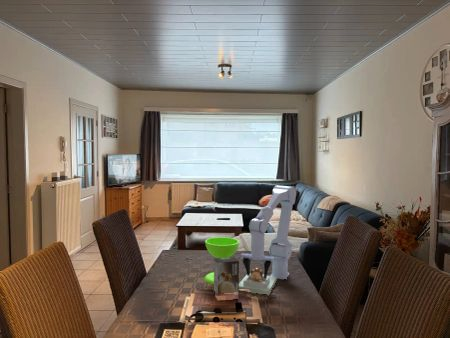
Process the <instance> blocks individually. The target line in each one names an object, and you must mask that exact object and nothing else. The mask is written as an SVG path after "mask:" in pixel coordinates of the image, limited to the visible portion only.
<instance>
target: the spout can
mask: <svg viewBox="0 0 450 338" xmlns="http://www.w3.org/2000/svg"><path fill="white" fill-rule="evenodd" d="M250 273H251V281H255V282H262V278H263V274H264V271H263V269H260V267H254V268H252V269H250Z"/></svg>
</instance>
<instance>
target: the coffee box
mask: <svg viewBox="0 0 450 338" xmlns="http://www.w3.org/2000/svg"><path fill="white" fill-rule="evenodd" d="M213 272H214V284H213V292H214V291H215V292H216V293H217V294H221V293H234V292H239V293H240V291H239V283H240V261H239V260H238V259H237V257H235V256H230V257H225V258H216V257H214V259H213Z"/></svg>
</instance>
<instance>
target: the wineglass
mask: <svg viewBox="0 0 450 338" xmlns="http://www.w3.org/2000/svg"><path fill="white" fill-rule="evenodd" d="M204 241H205V242H204V243H205V247H206V249H207V252H208V253H209V254H210V255H211V256H213V257H214V258H225V257H233V255H235V253H236V252H237V251H238V249H239V246H240V240H239V239H237V238H233V237H227V236H226V237H225V236H224V237H223V236H220V237H219V236H218V237H217V236H216V237H215V236H214V237H210V238H207V239H205V240H204ZM204 281H205V282H206V283H208V284H211V285H214V271H212V272H210V273H207V274H206V275H205V276H204Z"/></svg>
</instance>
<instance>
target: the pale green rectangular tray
mask: <svg viewBox="0 0 450 338" xmlns="http://www.w3.org/2000/svg"><path fill="white" fill-rule="evenodd" d="M277 280H278V279H277V277H273V276H271V275H267V277H266V278H264V273H263V278H262V282H255V281H251V272H250V275H249V276H247V274H246V275H245V276H244V277H243V278H242V280H241V281H239V289H249V290H250V291H251V293H250V294H256V293H258V295H262V294H267V295H266V296H270V294H271V293H272V291H273V289H272V288H274V287H275V286H276V284H277V282H278V281H277ZM276 281H277V282H276ZM275 283H276V284H275ZM271 290H272V291H271Z"/></svg>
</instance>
